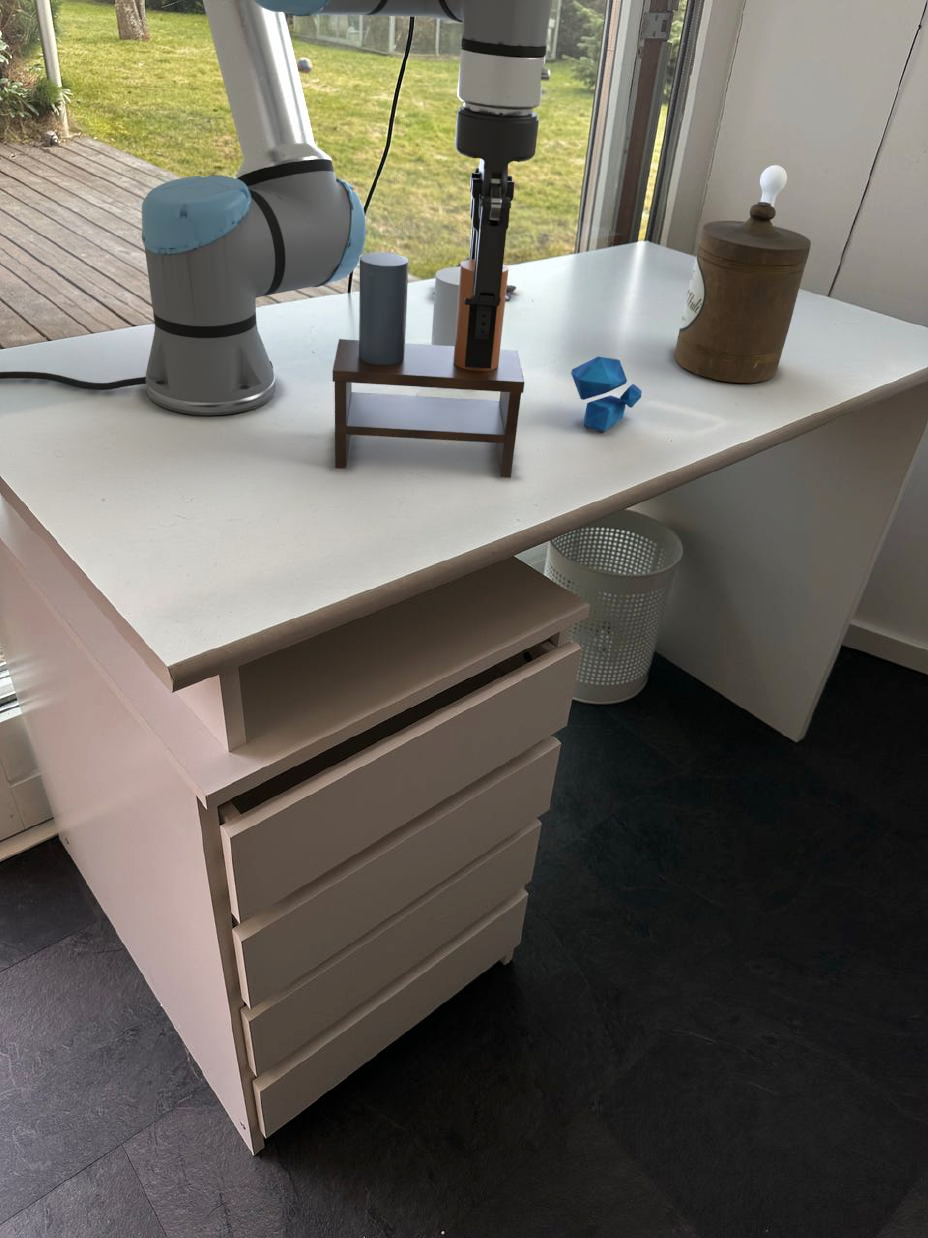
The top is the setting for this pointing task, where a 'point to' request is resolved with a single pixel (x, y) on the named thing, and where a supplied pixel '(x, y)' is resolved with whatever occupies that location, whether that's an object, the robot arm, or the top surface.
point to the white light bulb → (772, 183)
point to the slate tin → (382, 308)
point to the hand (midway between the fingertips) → (476, 356)
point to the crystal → (603, 392)
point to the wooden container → (741, 298)
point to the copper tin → (463, 315)
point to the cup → (445, 306)
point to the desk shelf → (427, 400)
